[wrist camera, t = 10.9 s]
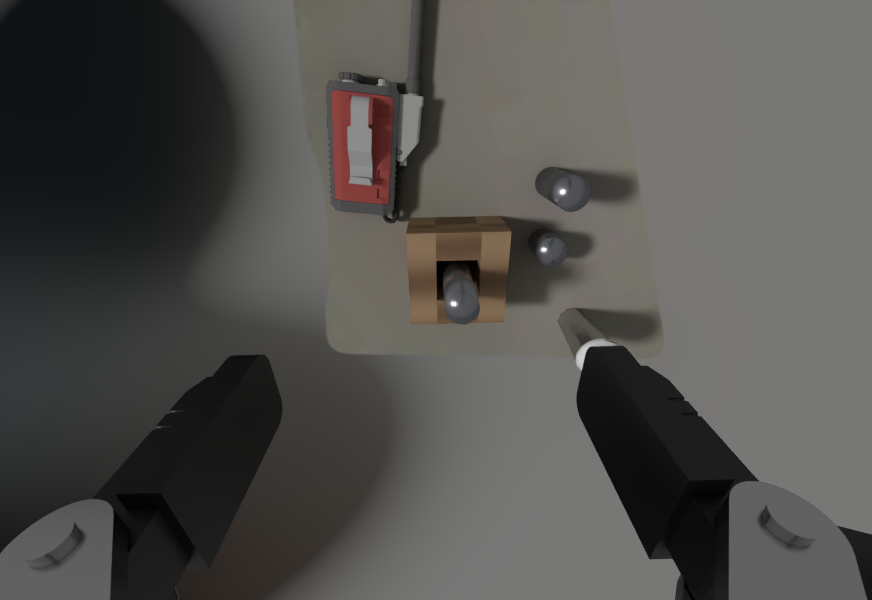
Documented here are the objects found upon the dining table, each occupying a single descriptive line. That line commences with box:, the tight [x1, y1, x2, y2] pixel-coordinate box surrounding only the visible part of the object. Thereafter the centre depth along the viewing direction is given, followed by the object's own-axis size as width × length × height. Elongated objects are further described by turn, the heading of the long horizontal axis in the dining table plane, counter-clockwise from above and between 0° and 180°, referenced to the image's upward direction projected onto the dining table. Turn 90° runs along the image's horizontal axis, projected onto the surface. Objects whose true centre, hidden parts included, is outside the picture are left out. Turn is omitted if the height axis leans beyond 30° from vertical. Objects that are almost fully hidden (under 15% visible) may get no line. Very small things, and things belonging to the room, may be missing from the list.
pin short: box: [529, 228, 567, 267], centre depth 38 cm, size 3×3×4 cm
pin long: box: [441, 260, 480, 324], centre depth 35 cm, size 3×3×12 cm
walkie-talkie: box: [326, 0, 424, 223], centre depth 32 cm, size 9×4×20 cm
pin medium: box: [535, 167, 591, 212], centre depth 34 cm, size 3×3×7 cm
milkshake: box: [558, 308, 618, 371], centre depth 40 cm, size 5×5×10 cm
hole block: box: [406, 216, 511, 324], centre depth 38 cm, size 10×10×6 cm
